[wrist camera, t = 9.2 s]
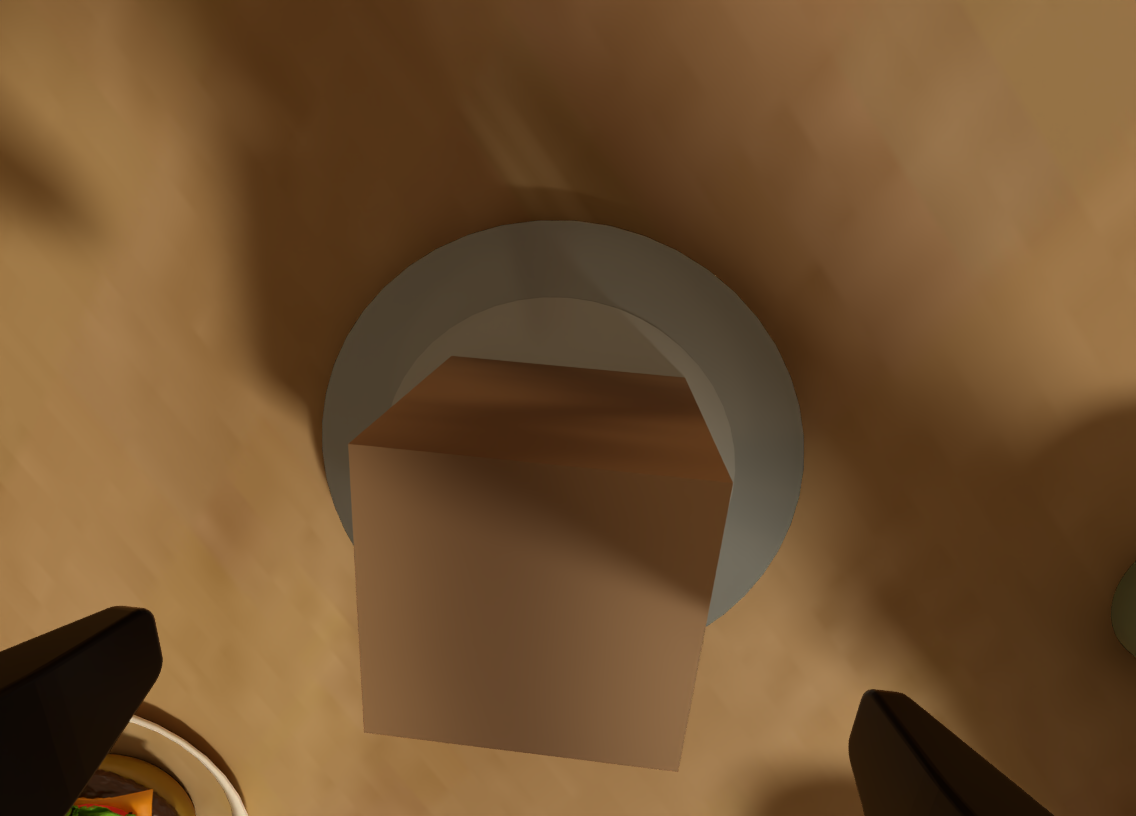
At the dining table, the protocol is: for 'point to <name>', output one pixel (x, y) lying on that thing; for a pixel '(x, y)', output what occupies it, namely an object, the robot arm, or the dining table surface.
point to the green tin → (1125, 610)
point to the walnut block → (537, 560)
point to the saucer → (587, 356)
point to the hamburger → (145, 786)
